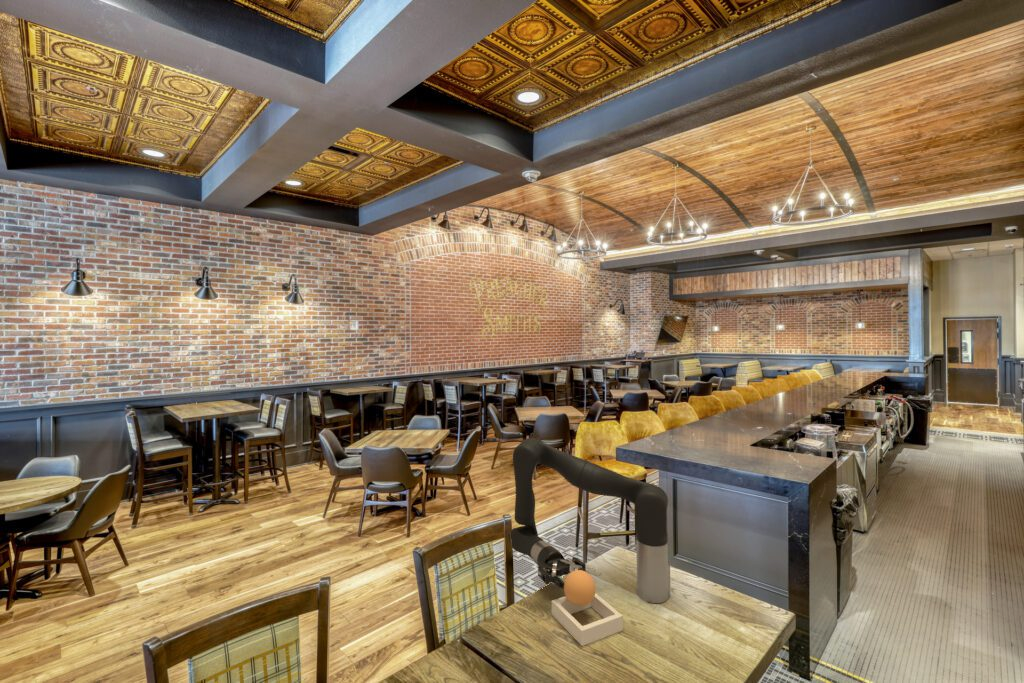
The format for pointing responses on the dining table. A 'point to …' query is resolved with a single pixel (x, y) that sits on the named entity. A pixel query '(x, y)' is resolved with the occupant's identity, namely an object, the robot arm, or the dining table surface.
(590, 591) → the ball
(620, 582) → the dining table surface
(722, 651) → the dining table surface
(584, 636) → the white square frame
